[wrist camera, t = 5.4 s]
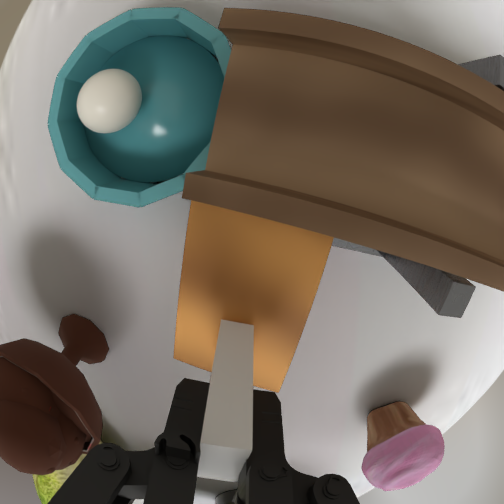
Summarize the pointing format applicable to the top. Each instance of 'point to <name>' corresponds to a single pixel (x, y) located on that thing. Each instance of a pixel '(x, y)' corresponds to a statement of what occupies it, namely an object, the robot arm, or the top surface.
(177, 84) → the teal bowl
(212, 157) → the chute
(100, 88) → the ball
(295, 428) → the top surface
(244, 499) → the robot arm
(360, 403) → the top surface
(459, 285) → the chute stand
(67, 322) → the ice cream bowl
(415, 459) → the cupcake
